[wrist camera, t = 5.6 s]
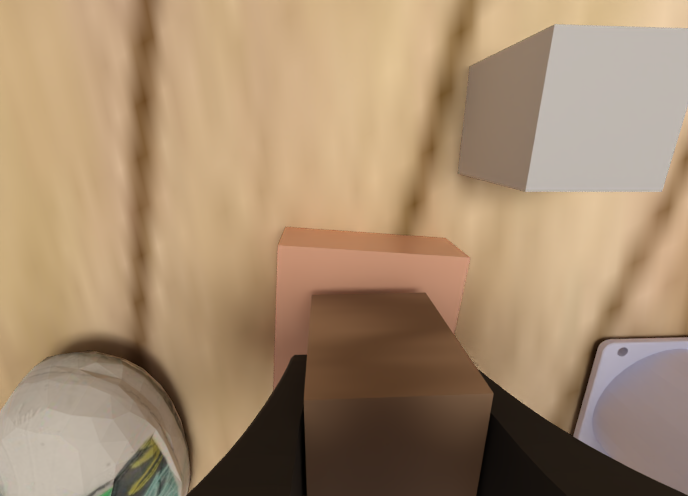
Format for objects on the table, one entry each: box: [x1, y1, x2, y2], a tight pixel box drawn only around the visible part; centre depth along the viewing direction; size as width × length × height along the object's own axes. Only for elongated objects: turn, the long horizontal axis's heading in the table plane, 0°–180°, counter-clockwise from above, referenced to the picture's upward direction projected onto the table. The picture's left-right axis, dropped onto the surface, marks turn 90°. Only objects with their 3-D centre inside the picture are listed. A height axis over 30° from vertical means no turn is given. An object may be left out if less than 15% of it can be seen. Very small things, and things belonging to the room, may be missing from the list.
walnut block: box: [304, 293, 494, 496], centre depth 10 cm, size 4×4×5 cm
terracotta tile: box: [273, 227, 470, 391], centre depth 15 cm, size 7×7×3 cm
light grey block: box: [458, 24, 688, 192], centre depth 11 cm, size 4×4×5 cm
